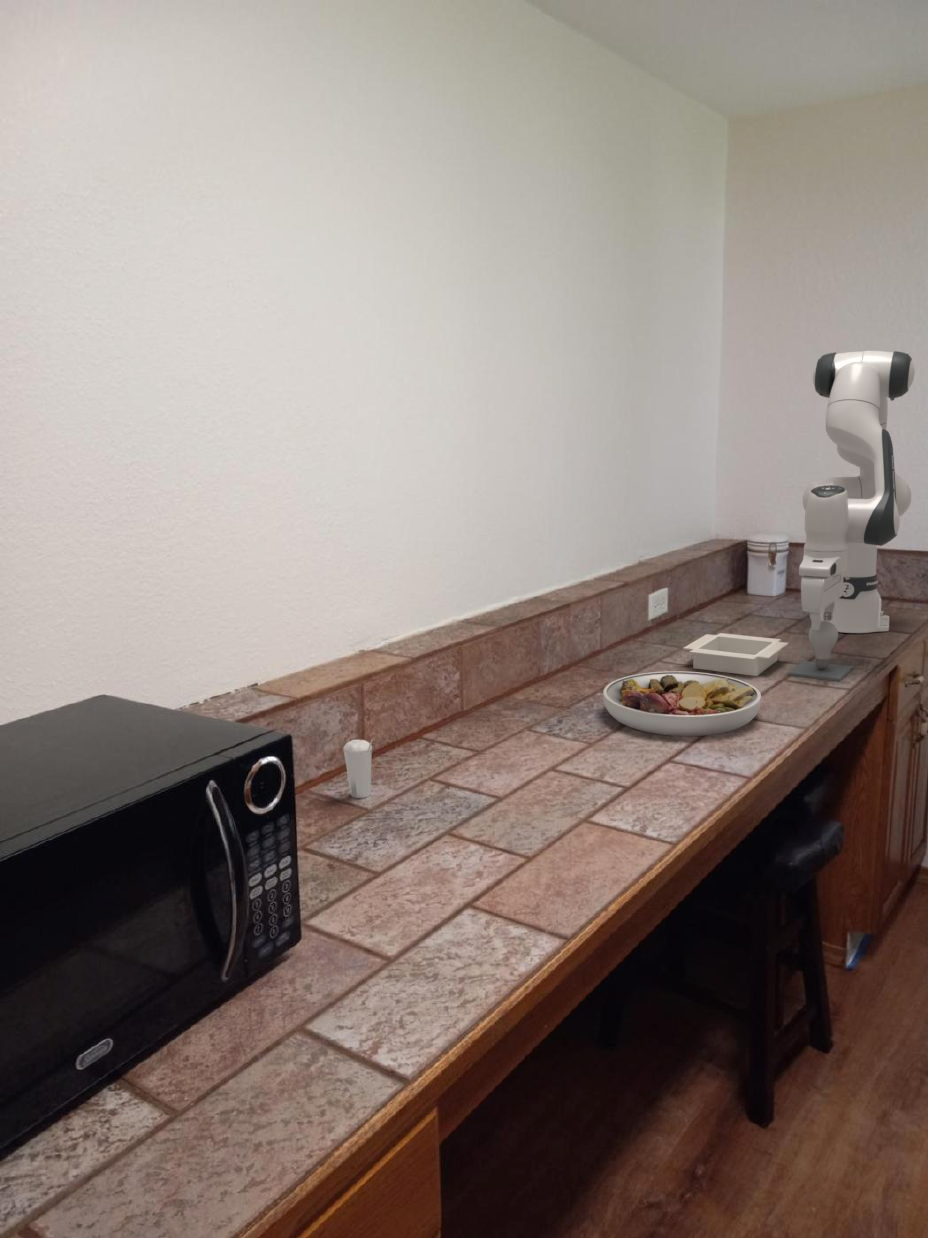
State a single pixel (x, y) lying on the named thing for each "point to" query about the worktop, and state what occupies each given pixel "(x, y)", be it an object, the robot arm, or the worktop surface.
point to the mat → (820, 671)
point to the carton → (735, 653)
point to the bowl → (682, 702)
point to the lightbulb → (823, 643)
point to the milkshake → (358, 767)
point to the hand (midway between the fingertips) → (822, 624)
